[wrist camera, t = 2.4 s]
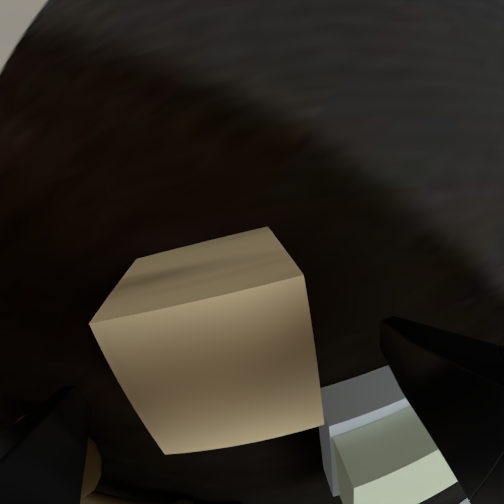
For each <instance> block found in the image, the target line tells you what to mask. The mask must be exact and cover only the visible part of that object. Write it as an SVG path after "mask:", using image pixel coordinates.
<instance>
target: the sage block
mask: <svg viewBox="0 0 504 504" xmlns="http://www.w3.org/2000/svg"><path fill="white" fill-rule="evenodd" d="M333 443H334V451H335V459H336V467H337V476H338V485H339V495H340V497H341V500H342V503H343V504H418V503H420V502H422V501H424V500H426V499H428V498H430V497H432V496H433V495H435V494H437V493H439V492H441V491H442V490H444V489H446V488H447V487H449V486H451V485H452V484H454V483H456V482H457V479H456V477H455V476H454V474H453V472H452V471H451V469H450V467H449V466H448V464H447V462H446V461H445V459H444V457H443V456H442V454H441V452H440V451H439V449H438V448H437V446H436V444H435V443H434V441H433V440H432V438H431V436H430V435H429V433H428V432H427V430H426V429H425V427H424V425H423V424H422V422H421V421H420V419H419V418H418V416H417V414H416V413H415V411H414V410H413V408H412V407H411V406H409V407H407V408H405V409H402V410H400V411H398V412H396V413H394V414H391V415H389V416H387V417H385V418H382V419H380V420H378V421H375V422H373V423H370V424H368V425H365V426H363V427H360V428H358V429H355V430H352V431H350V432H347V433H344V434H341V435H338V436H336V437H333Z"/></svg>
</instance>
